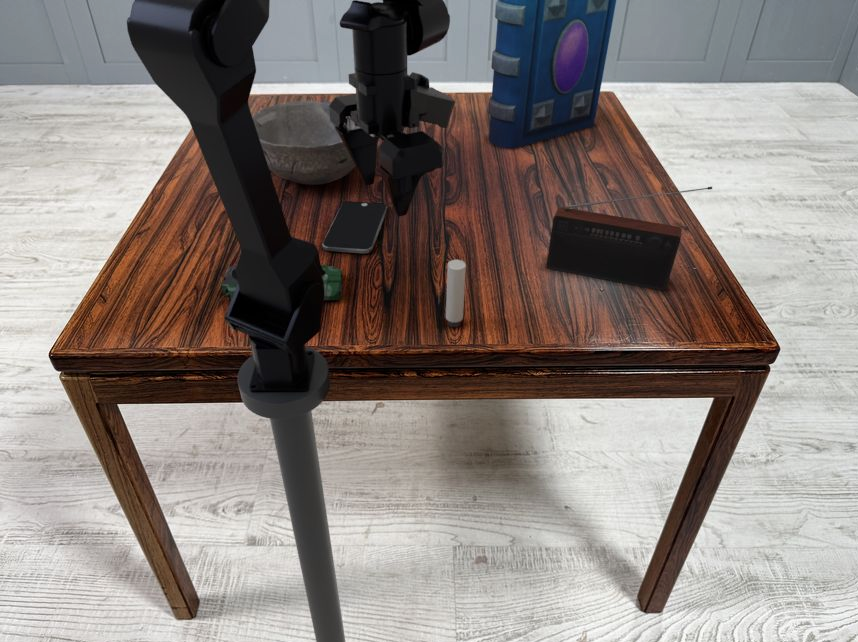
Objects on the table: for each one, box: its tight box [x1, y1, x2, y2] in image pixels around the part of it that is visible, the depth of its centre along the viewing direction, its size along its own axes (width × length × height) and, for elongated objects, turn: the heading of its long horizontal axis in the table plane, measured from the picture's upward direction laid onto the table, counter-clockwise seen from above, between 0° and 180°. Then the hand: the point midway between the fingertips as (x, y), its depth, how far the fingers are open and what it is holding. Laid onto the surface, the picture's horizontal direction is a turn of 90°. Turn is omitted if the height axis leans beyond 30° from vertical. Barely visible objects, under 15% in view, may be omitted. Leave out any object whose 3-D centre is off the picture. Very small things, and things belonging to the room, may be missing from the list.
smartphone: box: [321, 200, 388, 254], centre depth 102 cm, size 8×1×15 cm
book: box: [487, 0, 617, 150], centre depth 122 cm, size 24×9×30 cm, turn 123°
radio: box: [545, 186, 713, 292], centre depth 87 cm, size 19×3×15 cm, turn 70°
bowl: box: [252, 99, 356, 186], centre depth 114 cm, size 21×21×10 cm
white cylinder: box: [445, 259, 467, 328], centre depth 81 cm, size 2×2×9 cm
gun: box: [220, 264, 344, 301], centre depth 90 cm, size 16×1×10 cm
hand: (385, 199), depth 80 cm, fingers open, 9 cm apart
